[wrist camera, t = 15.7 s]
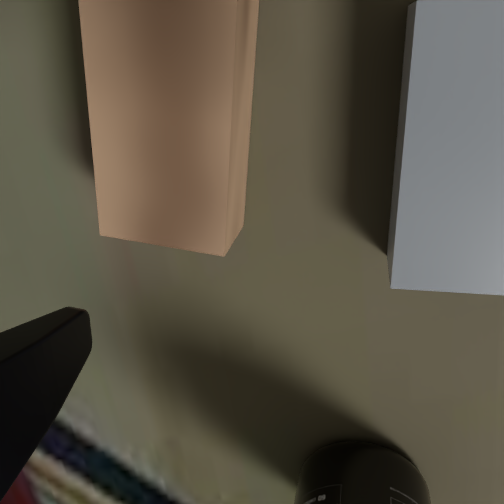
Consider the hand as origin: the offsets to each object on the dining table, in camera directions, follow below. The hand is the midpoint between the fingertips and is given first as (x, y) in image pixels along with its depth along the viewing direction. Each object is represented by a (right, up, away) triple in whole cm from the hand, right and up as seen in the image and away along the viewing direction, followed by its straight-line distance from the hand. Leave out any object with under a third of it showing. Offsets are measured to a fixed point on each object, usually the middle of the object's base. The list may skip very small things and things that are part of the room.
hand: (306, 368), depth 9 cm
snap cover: (+7, +6, +8) cm, 12 cm away
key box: (-3, +10, +8) cm, 13 cm away
